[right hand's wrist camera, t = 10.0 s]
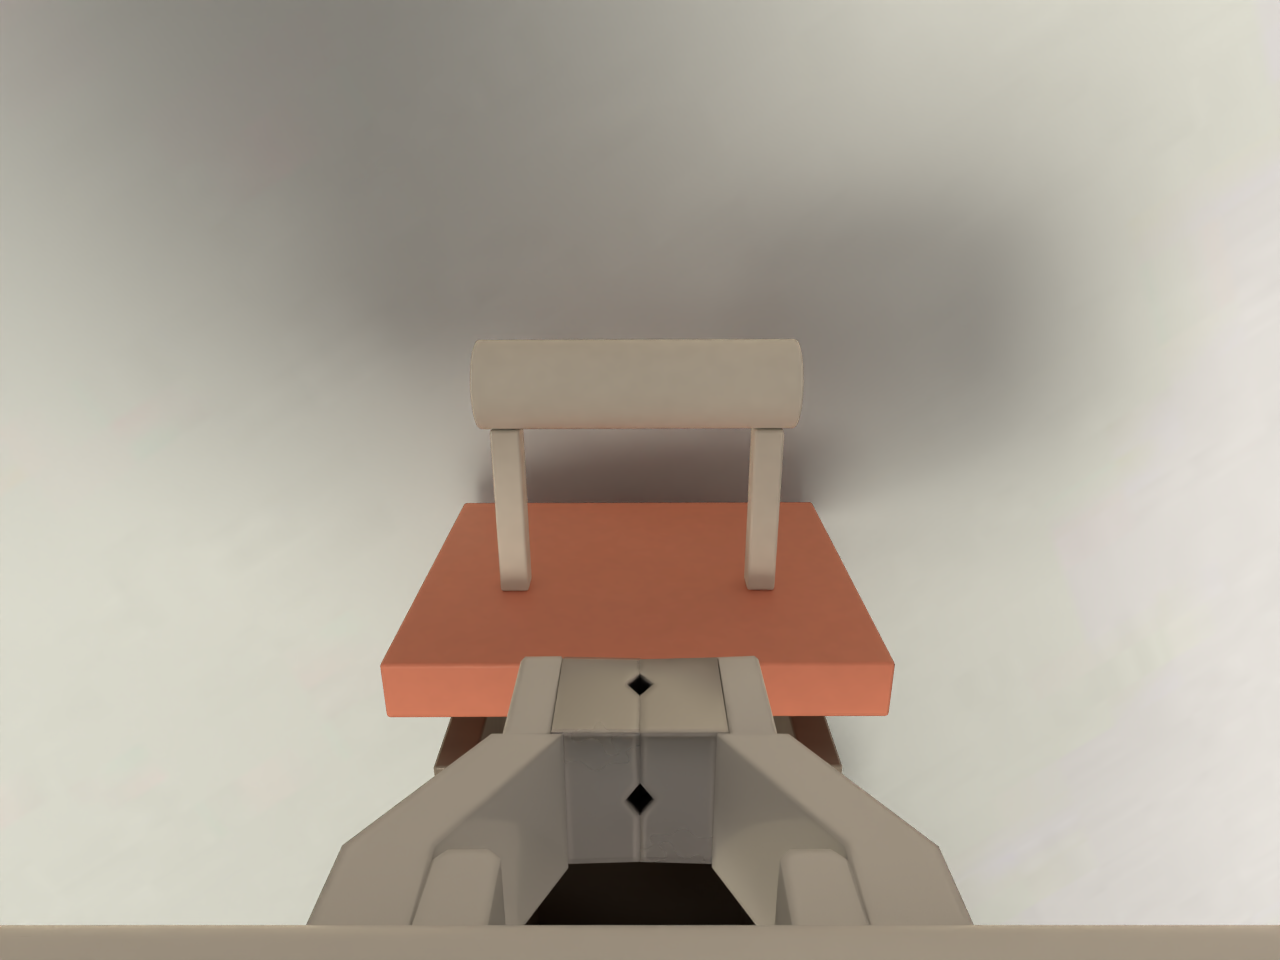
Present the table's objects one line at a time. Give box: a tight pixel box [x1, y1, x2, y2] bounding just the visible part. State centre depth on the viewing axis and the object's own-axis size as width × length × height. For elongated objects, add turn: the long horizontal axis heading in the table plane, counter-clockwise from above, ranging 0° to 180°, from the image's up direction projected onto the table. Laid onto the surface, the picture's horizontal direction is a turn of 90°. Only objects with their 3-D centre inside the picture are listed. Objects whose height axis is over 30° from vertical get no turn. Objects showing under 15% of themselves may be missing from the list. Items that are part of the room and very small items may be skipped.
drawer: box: [380, 339, 895, 925], centre depth 20 cm, size 20×10×8 cm, turn 0°
